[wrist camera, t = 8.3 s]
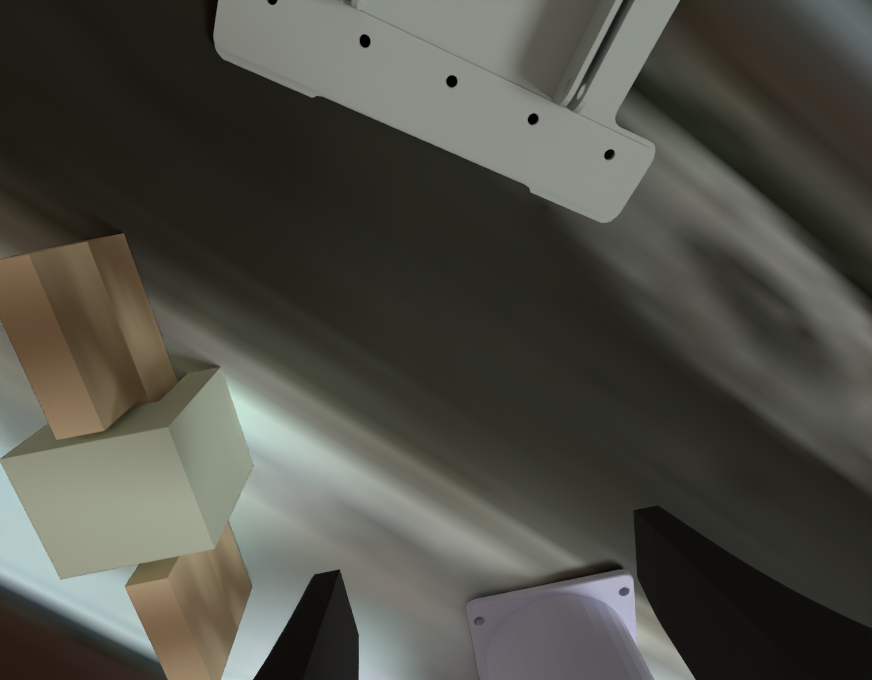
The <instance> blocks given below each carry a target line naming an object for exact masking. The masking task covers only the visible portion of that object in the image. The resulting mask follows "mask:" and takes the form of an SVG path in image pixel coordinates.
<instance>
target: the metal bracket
mask: <svg viewBox="0 0 872 680" xmlns="http://www.w3.org/2000/svg"><path fill="white" fill-rule="evenodd" d="M679 1H680V0H278V1H277V3H276V4H275V5H271V4H270V3H269V2H268V0H218V6H217V13H216V20H215V27H214V34H213V37H214V42H215V49H216V51H217V52H218V54H219V55H220V56H221V57H222V58H223V59H224V60H226V61H229V62H231V63H233V64H236V65H238V66H240V67H243V68H245V69H247V70H250V71H252V72H254V73H256V74H259V75H261V76H263V77H266V78H268V79H270V80H273V81H275V82H277V83H280V84H282V85H284V86H286V87H289V88H291V89H293V90H296V91H298V92H300V93H303V94H305V95H307V96H310V97H312V98H313V97H315V96H323V97H325V98H328V99H330V100H332V101H334V102H337V103H339V104H341V105H344V106H346V107H348V108H350V109H353V110H355V111H357V112H360V113H362V114H364V115H367V116H369V117H371V118H373V119H376V120H378V121H380V122H383V123H385V124H387V125H389V126H392V127H394V128H396V129H399V130H401V131H403V132H406V133H408V134H410V135H412V136H415V137H417V138H419V139H422V140H424V141H426V142H429V143H431V144H433V145H435V146H438V147H440V148H442V149H445V150H447V151H449V152H451V153H454V154H456V155H458V156H461V157H463V158H465V159H468V160H470V161H472V162H474V163H477V164H479V165H481V166H484V167H486V168H488V169H490V170H493V171H495V172H497V173H500V174H502V175H504V176H507V177H509V178H511V179H513V180H516V181H518V182H520V183H523V184H525V185H526V186H528V187H529V189H530V192H531V193H534V194H536V195H538V196H540V197H543V198H545V199H547V200H550V201H552V202H554V203H557V204H559V205H561V206H564V207H566V208H568V209H570V210H573V211H575V212H577V213H580V214H582V215H584V216H587V217H589V218H591V219H594V220H596V221H598V222H601V223H607V222H610V221H612V220H613V219H614V218H615V217H617V216H618V215H619V214H620V212H621V211H622V209H623V207H624V206H625V204H626V203H627V201H628V199H629V198H630V196H631V195H632V193H633V191H634V190H635V188H636V187H637V185H638V184H639V182H640V180H641V179H642V177H643V176H644V174H645V172H646V171H647V169H648V168H649V166H650V165H651V163H652V161H653V159H654V156H655V155H654V153H655V146H654V144H653V143H652V142H650V141H649V140H647V139H645V138H642V137H640V136H638V135H636V134H634V133H632V132H630V131H628V130H626V129H624V128H622V127H619V126H618V125H617V124H616V121H615V116H616V113H617V111H618V109H619V107H620V105H621V104H622V102H623V100H624V98H625V97H626V95H627V93H628V91H629V90H630V88H631V86H632V84H633V82H634V81H635V79H636V77H637V75H638V74H639V72H640V70H641V68H642V66H643V65H644V63H645V61H646V59H647V58H648V56H649V54H650V52H651V50H652V49H653V47H654V45H655V43H656V42H657V40H658V38H659V36H660V35H661V33H662V31H663V29H664V27H665V26H666V24H667V22H668V20H669V19H670V17H671V15H672V13H673V11H674V10H675V8H676V6H677V4H678V3H679ZM363 34H366V35H368V36H369V37H370V40H371V44H370V46H369V47H367V48H365V47H363V46H361V44H360V37H361V35H363ZM450 75H454V76H455V77H457V80H458V81H457V84H456V86H454V87H449V86H448V85H447V83H446V79H447V77H448V76H450ZM532 113H535V114H537V115H538V121H537V122H536V123H535V124H529V123H528V117H529V115H530V114H532ZM609 149H613V151H614V154H613V156H612V157H611V158H610V159H605V158H604V154H605V152H606V151H607V150H609Z"/></svg>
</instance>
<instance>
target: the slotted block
mask: <svg viewBox="0 0 872 680" xmlns="http://www.w3.org/2000/svg"><path fill="white" fill-rule="evenodd" d="M0 462H1V464H2V466H3V468H4V470H5V472H6V474H7V476H8V478H9V480H10V482H11V484H12V486H13V488H14V490H15V492H16V494H17V495H18V497H19V499H20V501H21V503H22V505H23V507H24V509H25V511H26V513H27V515H28V517H29V519H30V521H31V523H32V525H33V527H34V529H35V531H36V532H37V534H38V536H39V538H40V540H41V542H42V544H43V546H44V548H45V550H46V552H47V554H48V556H49V558H50V560H51V562H52V564H53V566H54V568H55V569H56V571H57V573H58V575H59V577H60V579H65V578H70V577H75V576H81V575H86V574H91V573H96V572H101V571H106V570H111V569H116V568H121V567H126V566H131V565H136V564H141V563H146V562H151V561H156V560H161V559H166V558H171V557H176V556H181V555H186V554H191V553H196V552H201V551H206V550H211V549H215V547H216V545H217V543H218V541H219V538H220V536H221V534H222V532H223V530H224V528H225V526H226V524H227V521H228V519H229V517H230V515H231V513H232V511H233V509H234V507H235V505H236V502H237V500H238V498H239V496H240V494H241V492H242V490H243V488H244V485H245V483H246V481H247V479H248V477H249V475H250V473H251V471H252V468H253V466H254V465H253V462H252V459H251V456H250V453H249V450H248V447H247V444H246V441H245V438H244V434H243V431H242V428H241V425H240V422H239V419H238V416H237V413H236V410H235V407H234V404H233V401H232V398H231V395H230V392H229V389H228V386H227V383H226V380H225V377H224V374H223V371H222V368H221V367H218V368H212V369H207V370H202V371H197V372H191V373H188V374H187V375H186V376H184V377H183V378H182V379H181V380H180V381H179V382H178V383H177V384H176V385H175V386H174V387H173V388H172V389H171V390H170V391H169V392H168V393H167V394H166V395H165V396H164V397H163V398H162V399H161V400H160V401H158V402H153V403H148V404H143V405H137V406H132V407H130V408H129V409H128V410H127V411H126V412H125V413H124V414H123V415H121V416H120V417H119V418H118V419H117V420H116V421H115V422H114V423H113V424H111V425H110V426H109V427H108V428H107V429H106V430H105V431H101V432H96V433H90V434H85V435H80V436H75V437H70V438H64V439H59V440H56V438H55V436H54V433H53V431H52V429H51V427H50V425H49V424H47V425H46V426H44V427H43V428H42V429H40V430H39V431H38V432H36V433H35V434H33V435H32V436H31V437H29V438H28V439H27V440H25V441H24V442H22V443H21V444H20V445H18V446H17V447H16V448H14V449H13V450H11V451H10V452H9V453H7V454H6V455H5V456H3V457H2V458H0Z"/></svg>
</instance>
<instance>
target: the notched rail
mask: <svg viewBox="0 0 872 680" xmlns="http://www.w3.org/2000/svg"><path fill="white" fill-rule="evenodd" d="M0 319H1V322H2V324H3V326H4V328H5V330H6V332H7V334H8V337H9V339H10V341H11V343H12V345H13V347H14V350H15V352H16V354H17V356H18V358H19V360H20V362H21V365H22V367H23V369H24V371H25V373H26V375H27V377H28V380H29V382H30V384H31V386H32V388H33V390H34V393H35V395H36V397H37V399H38V401H39V403H40V405H41V408H42V410H43V412H44V414H45V416H46V418H47V421H48V423H49V425H50V427H51V429H52V431H53V433H54V436H55V438H56V440H59V439H64V438H70V437H75V436H80V435H85V434H90V433H96V432H101V431H105V430H106V429H107V428H108V427H109V426H110V425H111V424H113V423H114V422H115V421H116V420H117V419H118V418H119V417H120V416H121V415H123V414H124V413H125V412H126V411H127V410H128V409H129V408H130V407H132V406H137V405H143V404H148V403H153V402H158V401H160V400H161V399H162V398H163V397H164V396H165V395H166V394H167V393H168V392H169V391H170V390H171V389H172V388H173V387H174V386H175V385H176V384H177V383H178V381H177V378H176V376H175V373H174V370H173V367H172V365H171V362H170V359H169V356H168V354H167V351H166V348H165V345H164V343H163V340H162V337H161V334H160V332H159V329H158V326H157V323H156V321H155V318H154V315H153V312H152V310H151V307H150V304H149V301H148V299H147V296H146V293H145V290H144V288H143V285H142V282H141V279H140V277H139V274H138V271H137V268H136V266H135V263H134V260H133V257H132V255H131V252H130V249H129V246H128V244H127V241H126V238H125V235H124V233H123V234H117V235H112V236H106V237H101V238H95V239H90V240H84V241H80V242H75V243H71V244H66V245H61V246H57V247H52V248H47V249H43V250H38V251H34V252H29V253H24V254H20V255H15V256H11V257H6V258H1V259H0ZM125 588H126V590H127V593H128V595H129V597H130V599H131V601H132V603H133V606H134V608H135V610H136V612H137V614H138V616H139V618H140V621H141V623H142V625H143V627H144V629H145V631H146V633H147V636H148V638H149V640H150V642H151V644H152V646H153V649H154V651H155V653H156V655H157V657H158V659H159V661H160V664H161V666H162V668H163V670H164V672H165V674H166V677H167V679H168V680H221V678H222V675H223V672H224V669H225V666H226V663H227V660H228V657H229V654H230V651H231V648H232V645H233V642H234V639H235V636H236V633H237V630H238V627H239V624H240V621H241V619H242V616H243V613H244V610H245V607H246V604H247V601H248V598H249V595H250V592H251V589H252V585H251V582H250V579H249V576H248V574H247V571H246V568H245V565H244V563H243V560H242V557H241V554H240V552H239V549H238V546H237V543H236V541H235V538H234V535H233V532H232V530H231V527H230V524H229V521H227V524H226V526H225V528H224V530H223V532H222V534H221V536H220V538H219V541H218V543H217V545H216V547H215V549H211V550H206V551H201V552H196V553H191V554H186V555H181V556H176V557H171V558H166V559H161V560H156V561H151V562H146V563H141V564H139V565H138V567H137V568H136V570H135V572H134V573H133V575H132V576H131V578H130V579H129V581H128V582H127V584H126V585H125Z"/></svg>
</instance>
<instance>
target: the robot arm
mask: <svg viewBox="0 0 872 680" xmlns="http://www.w3.org/2000/svg"><path fill="white" fill-rule="evenodd" d="M634 527H635V545H636V562H637V578H638V580H639V582H640V584H641V586H642V588H643V590H644V592H645V594H646V597H647V599H648V601H649V603H650V605H651V607H652V609H653V611H654V613H655V615H656V617H657V619H658V620H659V622H660V624H661V625H662V627H663V629H664V630H665V632H666V633H667V635H668V637H669V638H670V640H671V641H672V643H673V644H674V646H675V648H676V649H677V651H678V652H679V654H680V656H681V657H682V659H683V660H684V662H685V663H686V665H687V667H688V668H689V670H690V671H691V673H692V674H693V676H694V678H695V679H696V680H872V628H869V627H867V626H865V625H863V624H860V623H858V622H856V621H854V620H852V619H849V618H847V617H845V616H843V615H841V614H839V613H837V612H835V611H833V610H831V609H829V608H827V607H825V606H823V605H821V604H819V603H817V602H815V601H813V600H811V599H809V598H807V597H805V596H803V595H801V594H799V593H797V592H795V591H793V590H792V589H790V588H788V587H786V586H784V585H783V584H781V583H779V582H777V581H776V580H774V579H772V578H770V577H769V576H767V575H765V574H763V573H762V572H760V571H758V570H756V569H755V568H753V567H751V566H750V565H748V564H746V563H745V562H743V561H742V560H740V559H738V558H737V557H735V556H734V555H732V554H730V553H729V552H727V551H726V550H724V549H722V548H721V547H719V546H718V545H716V544H715V543H713V542H712V541H710V540H709V539H707V538H706V537H704V536H703V535H701V534H700V533H698V532H697V531H695V530H694V529H692V528H691V527H689V526H688V525H686V524H685V523H683V522H682V521H680V520H679V519H677V518H676V517H675V516H673V515H672V514H670V513H669V512H667V511H666V510H664V509H663V508H661V507H660V506H653V507H648V508H643V509H638V510H634ZM623 587H624V589H621V588H623ZM620 589H621V590H620ZM466 610H467V616H468V621H469V626H470V631H471V636H472V641H473V646H474V651H475V656H476V661H477V666H478V672H479V677H480V680H654V678H653V676H652V675H651V673H650V671H649V669H648V667H647V665H646V663H645V661H644V659H643V657H642V655H641V653H640V651H639V649H638V647H637V631H636V615H635V598H634V582H633V578H632V576H631V574H630V573H629V572H628V571H627V570H624V569H622V570H615V571H610V572H606V573H601V574H596V575H591V576H586V577H581V578H576V579H571V580H566V581H561V582H556V583H551V584H547V585H542V586H537V587H532V588H527V589H522V590H517V591H512V592H507V593H502V594H497V595H492V596H488V597H483V598H478V599H474V600H471V601H470V602H469V603H468V604H467V606H466ZM477 617H482V618H479V619H476V618H477ZM358 678H359V634H358V631H357V627H356V624H355V620H354V617H353V613H352V610H351V606H350V603H349V600H348V596H347V593H346V589H345V586H344V582H343V579H342V575H341V572H340V569H339V570H334V571H329V572H325V573H320V574H315V575H314V576H313V577H312V579H311V580H310V582H309V584H308V586H307V588H306V590H305V592H304V594H303V596H302V597H301V599H300V601H299V603H298V605H297V607H296V609H295V610H294V612H293V614H292V616H291V618H290V619H289V621H288V623H287V625H286V627H285V628H284V630H283V632H282V633H281V635H280V637H279V638H278V640H277V642H276V644H275V645H274V647H273V649H272V650H271V652H270V654H269V655H268V657H267V659H266V660H265V662H264V664H263V665H262V667H261V668H260V670H259V671H258V673H257V674H256V676H255V677H254V679H253V680H358Z"/></svg>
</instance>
